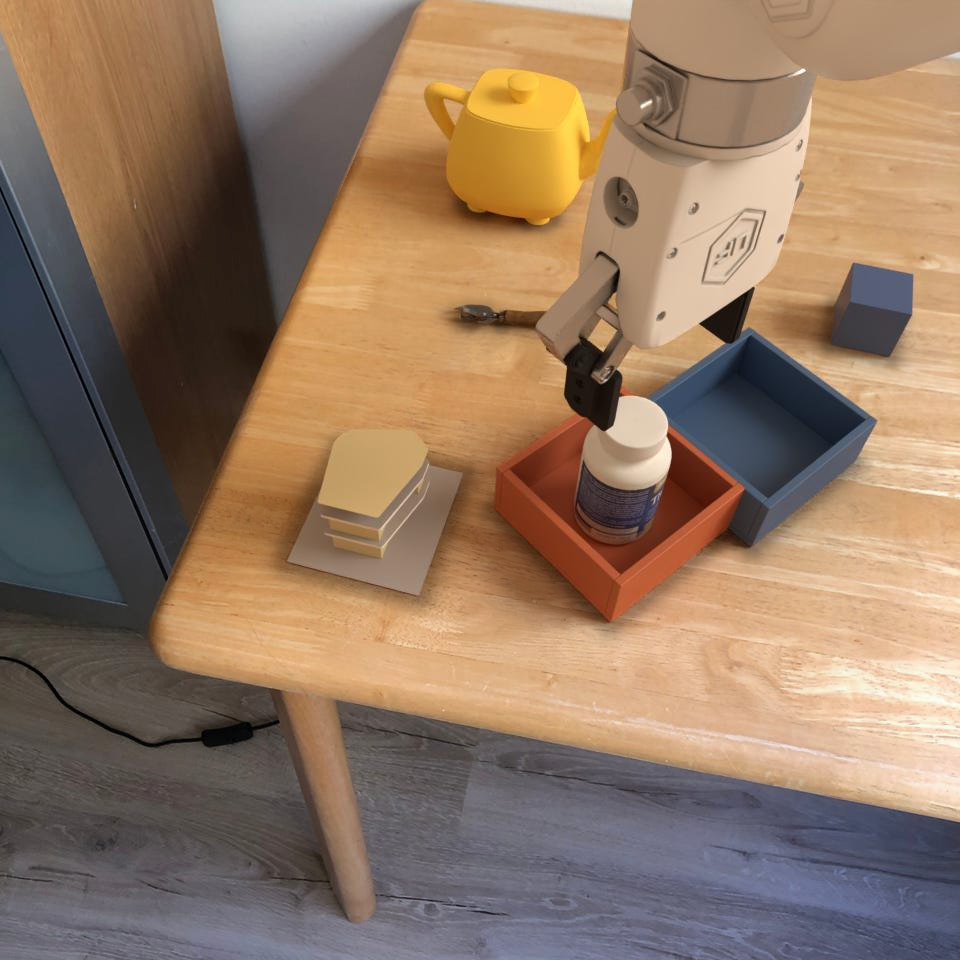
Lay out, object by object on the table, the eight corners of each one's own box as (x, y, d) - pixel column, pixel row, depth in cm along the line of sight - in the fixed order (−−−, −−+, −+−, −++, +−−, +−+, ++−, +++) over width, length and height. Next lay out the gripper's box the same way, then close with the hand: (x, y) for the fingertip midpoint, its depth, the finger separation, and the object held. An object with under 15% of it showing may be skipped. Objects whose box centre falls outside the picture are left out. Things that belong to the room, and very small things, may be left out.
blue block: (890, 357, 74) (912, 314, 70) (830, 344, 74) (849, 301, 71) (892, 316, 76) (913, 273, 73) (834, 305, 77) (853, 261, 73)
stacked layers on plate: (419, 596, 61) (415, 550, 57) (286, 561, 62) (273, 514, 58) (463, 473, 67) (463, 423, 62) (341, 444, 68) (333, 393, 63)
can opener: (569, 320, 75) (571, 309, 74) (565, 342, 74) (567, 331, 73) (456, 304, 76) (455, 293, 75) (450, 325, 75) (449, 314, 74)
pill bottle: (656, 548, 63) (685, 458, 55) (574, 546, 63) (591, 456, 55) (649, 481, 66) (675, 386, 58) (570, 479, 66) (586, 384, 58)
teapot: (638, 177, 86) (658, 65, 77) (610, 256, 80) (629, 144, 71) (446, 137, 89) (445, 25, 80) (405, 211, 83) (399, 98, 74)
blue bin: (855, 461, 68) (878, 420, 64) (751, 548, 64) (769, 509, 60) (734, 369, 73) (749, 326, 69) (629, 444, 68) (639, 402, 65)
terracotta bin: (729, 526, 64) (746, 487, 61) (610, 623, 60) (620, 586, 56) (611, 425, 69) (620, 383, 66) (493, 507, 65) (495, 467, 61)
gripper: (633, 206, 33) (585, 495, 47) (924, 39, 40) (808, 334, 54) (492, 111, 37) (486, 406, 51) (782, -29, 44) (707, 265, 57)
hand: (652, 369), depth 52 cm, fingers open, 9 cm apart
